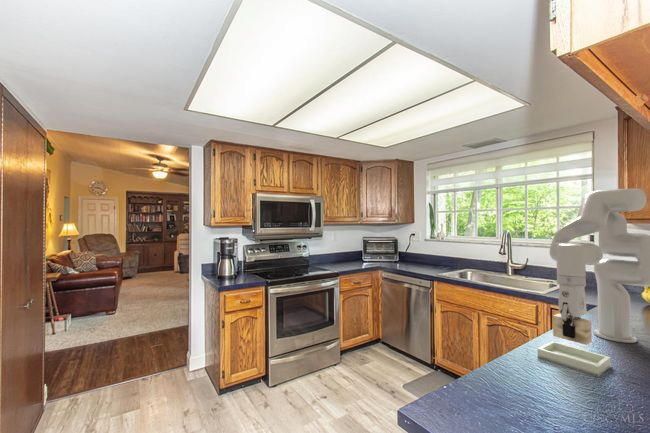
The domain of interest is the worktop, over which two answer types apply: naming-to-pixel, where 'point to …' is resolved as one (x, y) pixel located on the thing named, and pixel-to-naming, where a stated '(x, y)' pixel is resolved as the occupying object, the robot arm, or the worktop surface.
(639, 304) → the worktop surface
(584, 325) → the block
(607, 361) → the tray
